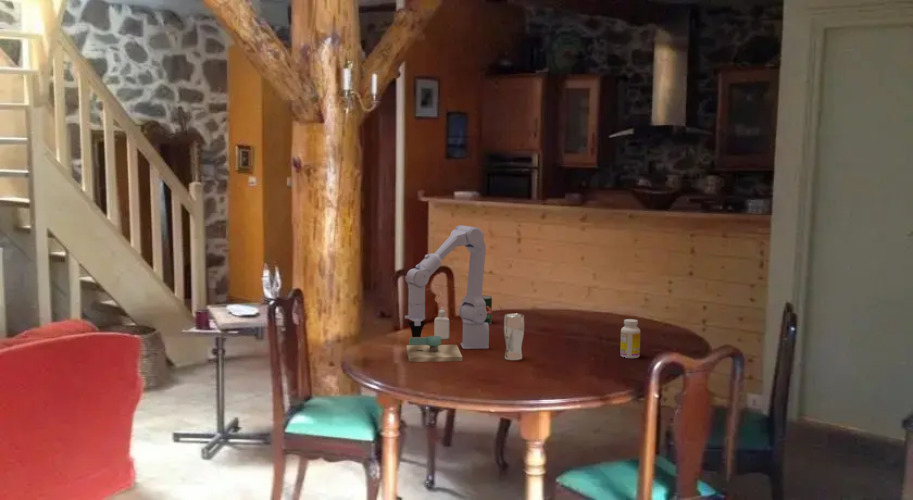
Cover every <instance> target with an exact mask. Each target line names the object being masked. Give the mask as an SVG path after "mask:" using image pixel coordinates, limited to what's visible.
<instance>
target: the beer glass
mask: <svg viewBox="0 0 913 500" xmlns="http://www.w3.org/2000/svg"><path fill="white" fill-rule="evenodd" d="M503 318H504V320H503V335H504V342H505V353H504V359H505V360H506V361H507V360H508V361H520V360H522V359H523V354H522V353H523V352H522V345H523V340H524V335H525V333H524V332H525V315H524V314H522V313H505V314H504V317H503Z"/></svg>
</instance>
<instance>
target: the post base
mask: <svg viewBox="0 0 913 500" xmlns="http://www.w3.org/2000/svg"><path fill="white" fill-rule="evenodd" d="M406 353H407V359H408V362H409V363H422V362H423V363H425V362H426V363H427V362H428V363H429V362H430V363H431V362H432V363H433V362H438V363H439V362H440V363H441V362H463V355H462V353H461V351H460V348H459V347H458V344H441V345H440V346H428V345H409V344H407V345H406Z"/></svg>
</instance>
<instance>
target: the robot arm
mask: <svg viewBox="0 0 913 500" xmlns="http://www.w3.org/2000/svg"><path fill="white" fill-rule="evenodd" d="M484 237H485V233H484V231H482V230H481V228H480V227H477V226H468V225H463V224H459V225H457V226H456V227H455V228H454V229H453V230H451V233H450V235H449V237H448V238H446V240H445V241H443V243H442V244H441V245H440V246H439V248H437V250H436V251H435V252H434V253H433V252H432V253H431V252H430V253H428V254H427V253H426V254H425V255H424V258H423V259H422V260H421V261H420V262H419V263H418V264H416V265H415V268H411V269H409V270H408V271H407V273H406V276H405V277H404V278H405V282H406V283H407V288H408V297H407V299H408V302H407V303H408V309H407V311H408V313H407V315H404V319H407V320H410V321H408V322H407V323H408V326H409V328H410V331H411V336H412V337H422V333H423V329H424V326H425V324H426V323H425V321H424V320H426V285H427V284H428V283H429V280H430V277H431V276H432V275H433V274H435V272H436V271H437V270H438V269H439V268H440V267H441V266H442V260H443V259H444V258H446V257H447V256H448V255H449V254H450V253H452V251H454V250H455V249H456V248H457V247H463V246H464V247H465V249H467V250H468V252H469V262H468V264H469V265H468V275H467V283H466V285H467V287H466V294H465V296H464V297H463V298H462V299H461V305H460V306H459V309H458V314H459V317H460V318H461V322H462V342H460V346H461V348H462V349H463V350H465V349H466V350H471V349H473V350H475V349H476V350H479V349H482V350H483V349H489V348H490V346H489V344H490V343H489V342H490V338H489V337H490V324H489V325H488V323H484V321H485V319H486V317H487V311H486V303H485V301H484V300H483V298H482V295H483V285H484V274H485V263H486V251H487V248H486V243H485V240H484Z"/></svg>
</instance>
